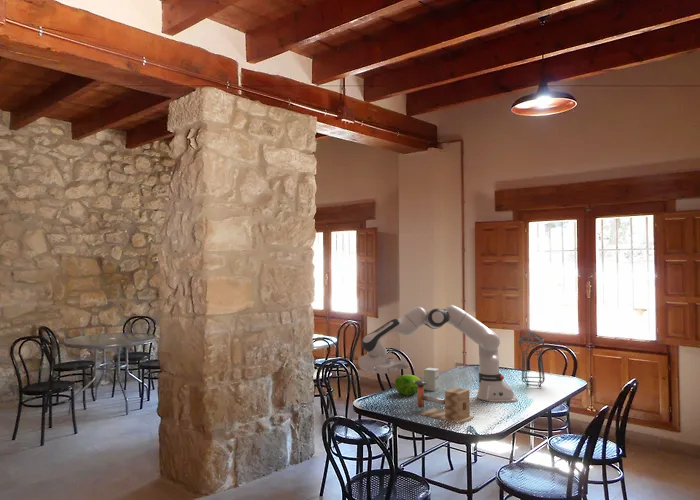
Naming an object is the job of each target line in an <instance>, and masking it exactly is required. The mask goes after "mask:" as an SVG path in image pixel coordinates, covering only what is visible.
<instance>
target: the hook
mask: <svg viewBox="0 0 700 500" xmlns="http://www.w3.org/2000/svg"><path fill="white" fill-rule="evenodd" d="M415 384H416V385H417V391H416V392H417V402H416V403H417V408H419V409H422V408H424V407H425V401H426V402H429V403H435V404H440V405H444V406H445V398H443V399H442V398H437V397H433V396H429V395H428V396H427V395H425V390H424V385H426V381H424V380H421V379H420V380H418V381H415Z"/></svg>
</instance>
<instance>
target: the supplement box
mask: <svg viewBox="0 0 700 500" xmlns="http://www.w3.org/2000/svg"><path fill="white" fill-rule="evenodd" d="M423 381H426V385H424V391H430V392H436V391H437V390H440V368H436V367H435V368H434V367H427V368H425V369H423Z"/></svg>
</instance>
